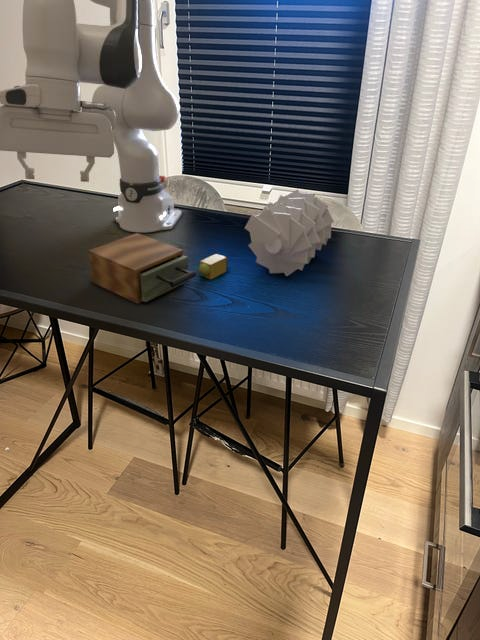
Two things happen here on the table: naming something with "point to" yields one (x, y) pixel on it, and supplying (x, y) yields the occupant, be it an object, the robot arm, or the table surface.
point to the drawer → (164, 277)
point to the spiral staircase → (289, 232)
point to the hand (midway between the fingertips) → (57, 180)
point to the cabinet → (128, 263)
